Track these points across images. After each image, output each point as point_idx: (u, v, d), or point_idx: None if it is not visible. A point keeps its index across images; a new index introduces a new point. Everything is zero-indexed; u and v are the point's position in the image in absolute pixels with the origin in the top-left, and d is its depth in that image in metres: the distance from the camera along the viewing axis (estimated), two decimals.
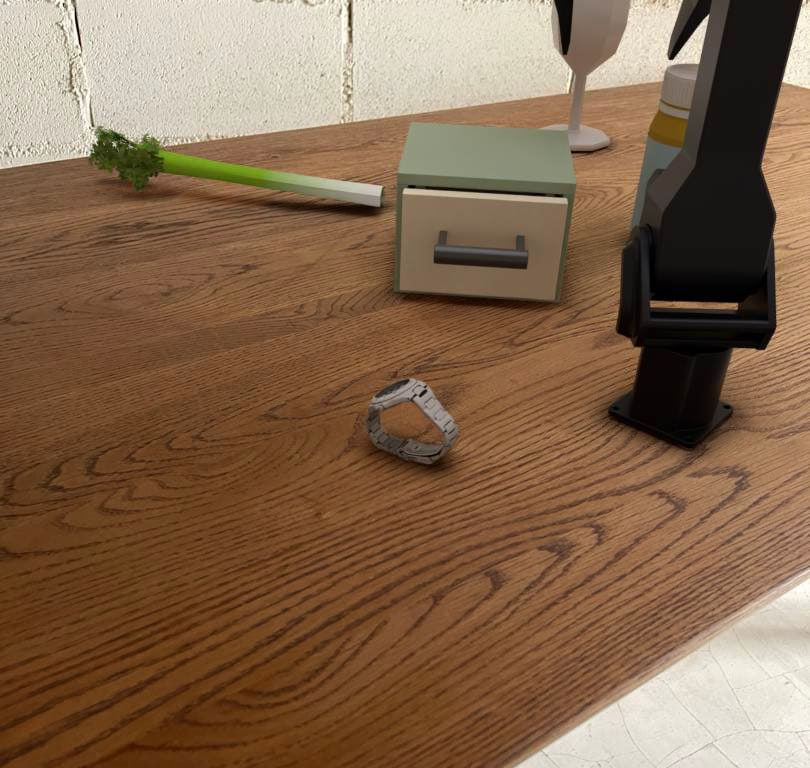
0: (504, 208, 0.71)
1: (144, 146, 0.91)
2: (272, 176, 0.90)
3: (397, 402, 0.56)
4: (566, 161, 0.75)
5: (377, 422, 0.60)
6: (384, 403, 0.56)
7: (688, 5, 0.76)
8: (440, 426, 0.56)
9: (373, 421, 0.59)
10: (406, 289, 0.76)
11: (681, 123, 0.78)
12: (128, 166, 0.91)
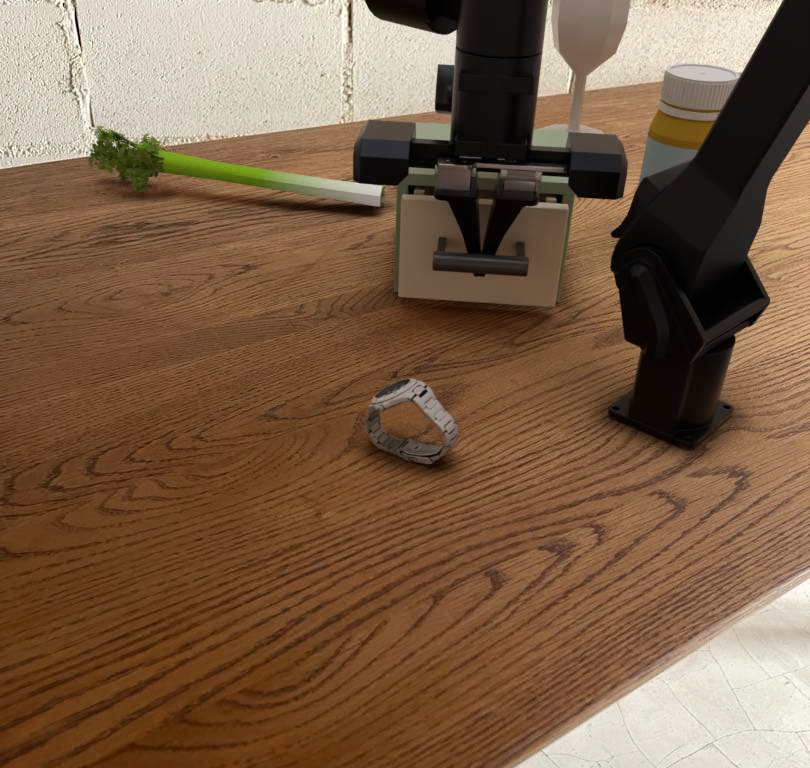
0: None
1: (144, 146, 0.91)
2: (272, 176, 0.90)
3: (397, 402, 0.56)
4: None
5: (377, 422, 0.60)
6: (384, 403, 0.56)
7: (490, 218, 0.67)
8: (440, 426, 0.56)
9: (373, 421, 0.59)
10: (405, 296, 0.75)
11: (681, 123, 0.78)
12: (128, 166, 0.91)
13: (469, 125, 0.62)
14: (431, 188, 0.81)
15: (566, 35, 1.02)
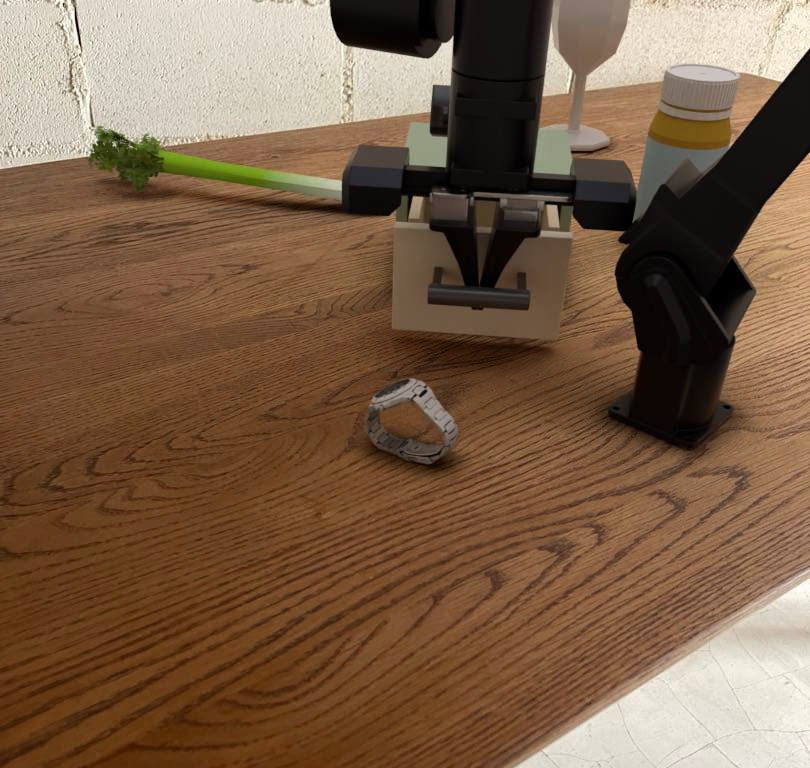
0: None
1: (144, 146, 0.91)
2: (272, 176, 0.90)
3: (397, 402, 0.56)
4: (566, 161, 0.75)
5: (377, 422, 0.60)
6: (384, 403, 0.56)
7: (488, 249, 0.63)
8: (440, 426, 0.56)
9: (373, 421, 0.59)
10: (398, 328, 0.70)
11: (681, 123, 0.78)
12: (128, 166, 0.91)
13: (466, 152, 0.57)
14: (427, 211, 0.76)
15: (566, 35, 1.02)
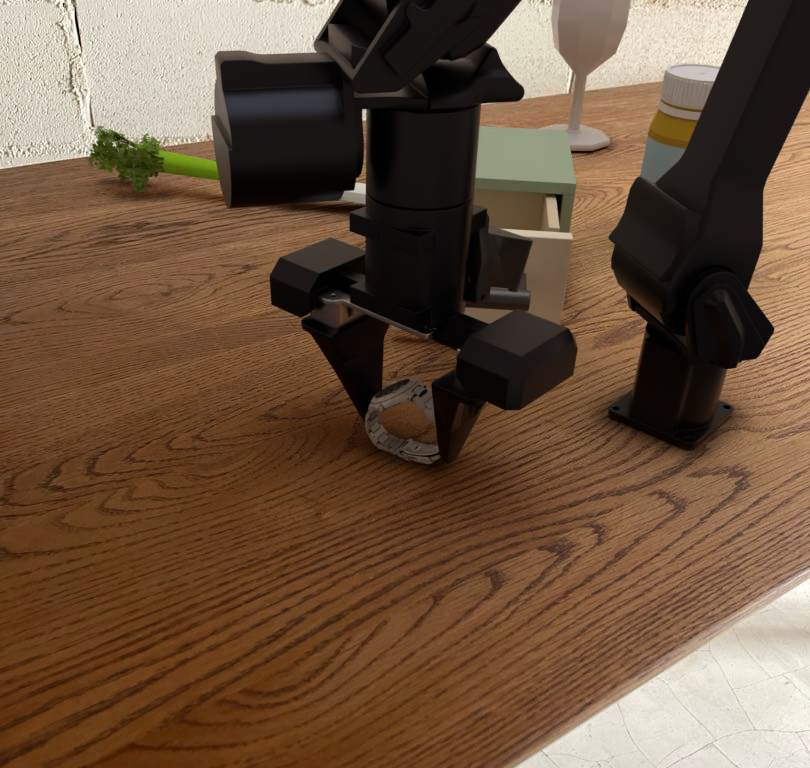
0: None
1: (144, 146, 0.91)
2: None
3: (397, 402, 0.56)
4: (566, 161, 0.75)
5: (377, 422, 0.60)
6: (384, 403, 0.56)
7: None
8: None
9: (373, 421, 0.59)
10: (398, 329, 0.70)
11: (681, 123, 0.78)
12: (128, 166, 0.91)
13: (367, 273, 0.51)
14: None
15: (566, 35, 1.02)
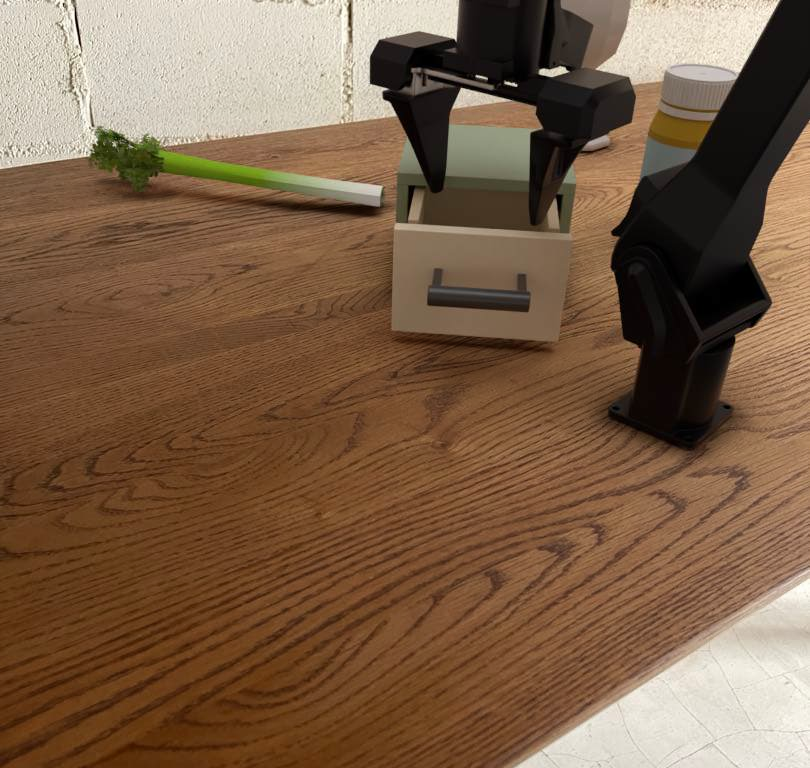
0: (504, 245, 0.65)
1: (144, 146, 0.91)
2: (272, 176, 0.90)
3: None
4: None
5: None
6: None
7: None
8: None
9: None
10: (398, 330, 0.70)
11: (681, 123, 0.78)
12: (128, 166, 0.91)
13: (459, 36, 0.60)
14: (427, 213, 0.76)
15: None
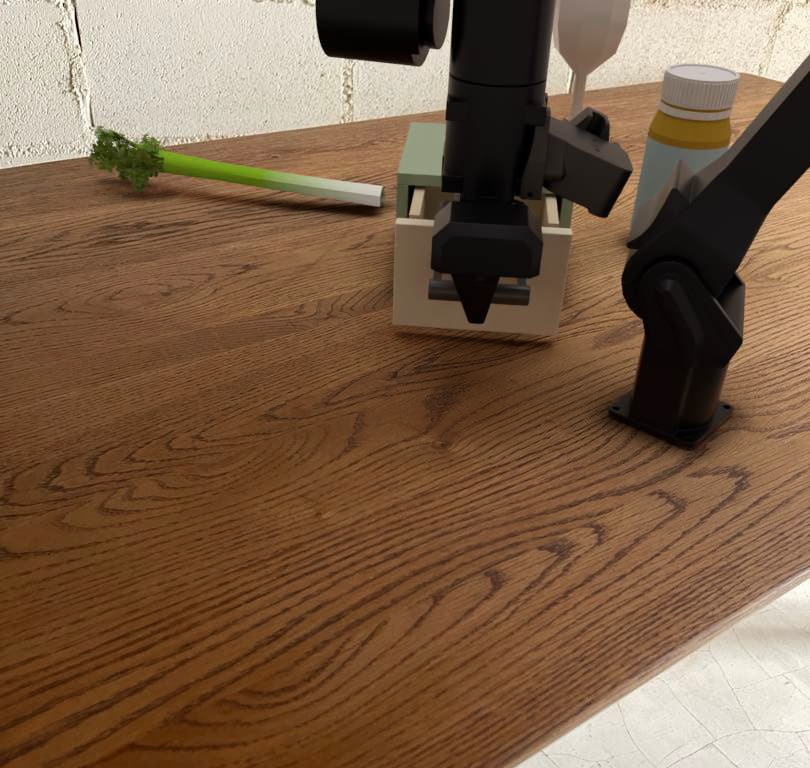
0: None
1: (144, 146, 0.91)
2: (272, 176, 0.90)
3: None
4: None
5: None
6: None
7: None
8: None
9: None
10: (399, 324, 0.71)
11: (681, 123, 0.78)
12: (128, 166, 0.91)
13: None
14: (427, 208, 0.77)
15: (566, 35, 1.02)
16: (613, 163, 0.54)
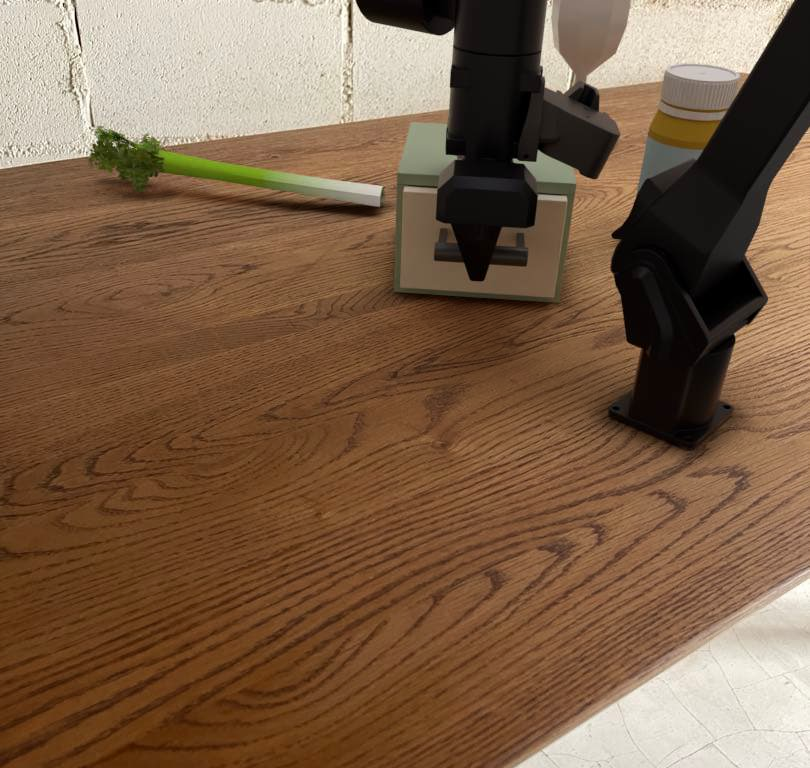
0: None
1: (144, 146, 0.91)
2: (272, 176, 0.90)
3: None
4: None
5: None
6: None
7: None
8: None
9: None
10: (406, 286, 0.76)
11: (681, 123, 0.78)
12: (128, 166, 0.91)
13: None
14: None
15: (566, 35, 1.02)
16: (602, 127, 0.60)
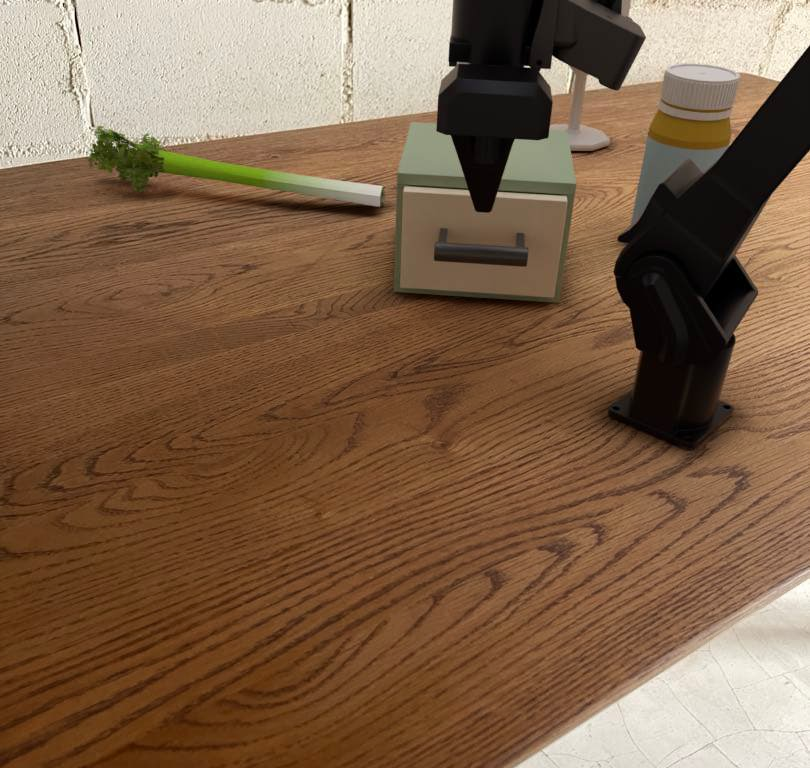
0: (504, 206, 0.71)
1: (144, 146, 0.91)
2: (272, 176, 0.90)
3: None
4: (566, 161, 0.75)
5: None
6: None
7: None
8: None
9: None
10: (406, 286, 0.76)
11: (681, 123, 0.78)
12: (128, 166, 0.91)
13: None
14: None
15: None
16: (625, 28, 0.53)
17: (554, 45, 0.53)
